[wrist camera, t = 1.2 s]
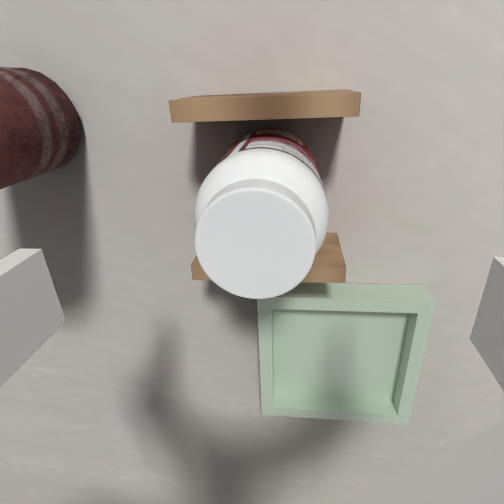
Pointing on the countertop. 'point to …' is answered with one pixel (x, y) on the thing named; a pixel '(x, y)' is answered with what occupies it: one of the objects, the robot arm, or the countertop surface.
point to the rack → (276, 107)
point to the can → (34, 125)
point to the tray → (343, 350)
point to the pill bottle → (261, 215)
